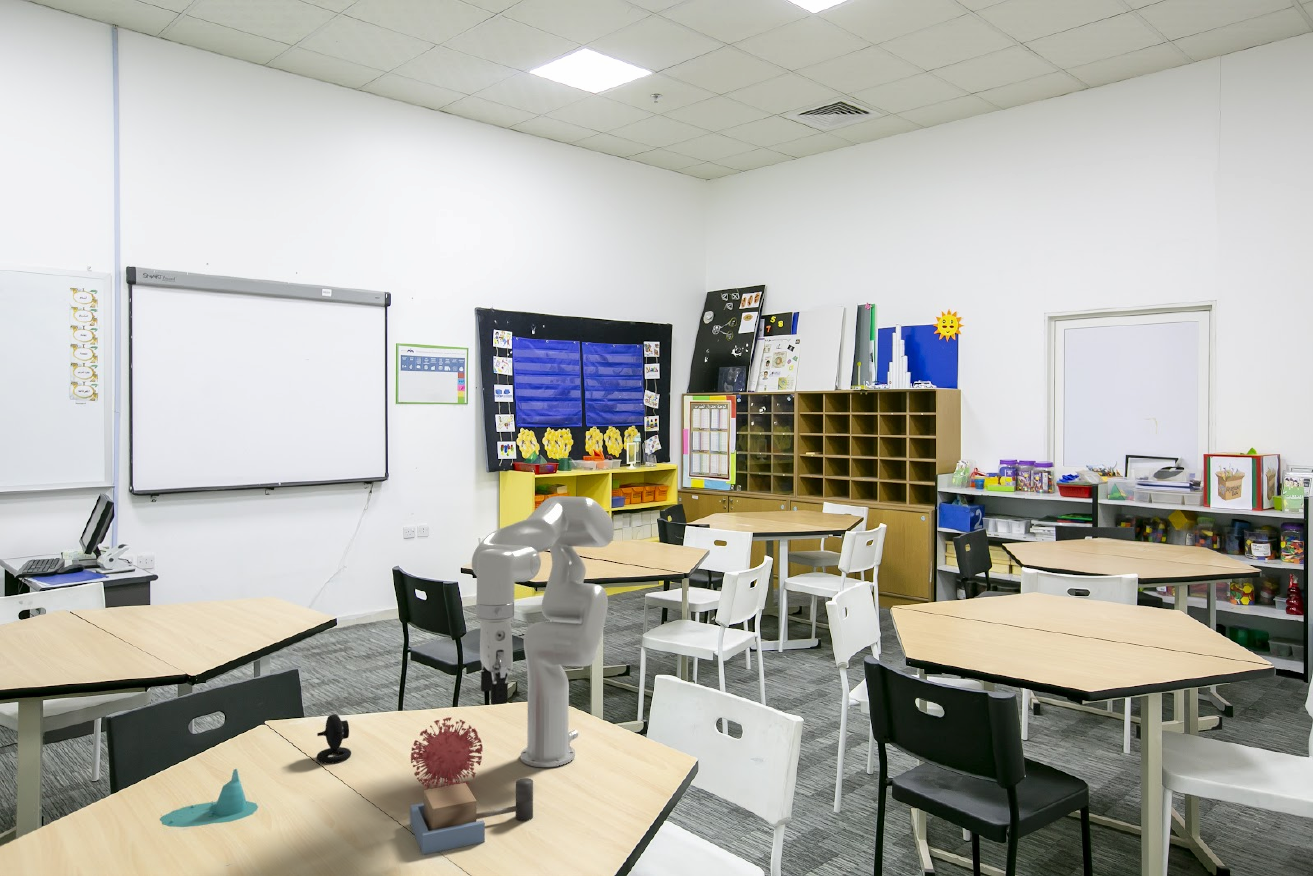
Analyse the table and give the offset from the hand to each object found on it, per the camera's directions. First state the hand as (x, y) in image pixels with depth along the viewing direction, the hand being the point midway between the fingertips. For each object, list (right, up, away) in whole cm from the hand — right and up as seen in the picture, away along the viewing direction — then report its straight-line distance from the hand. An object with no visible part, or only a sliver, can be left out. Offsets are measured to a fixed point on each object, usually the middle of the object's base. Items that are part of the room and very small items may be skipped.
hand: (493, 696), depth 169 cm
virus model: (-12, -23, +10) cm, 28 cm away
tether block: (-1, -23, -7) cm, 24 cm away
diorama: (-56, -23, -2) cm, 61 cm away
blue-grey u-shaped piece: (-7, -23, -9) cm, 25 cm away
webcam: (-42, -23, +27) cm, 55 cm away
